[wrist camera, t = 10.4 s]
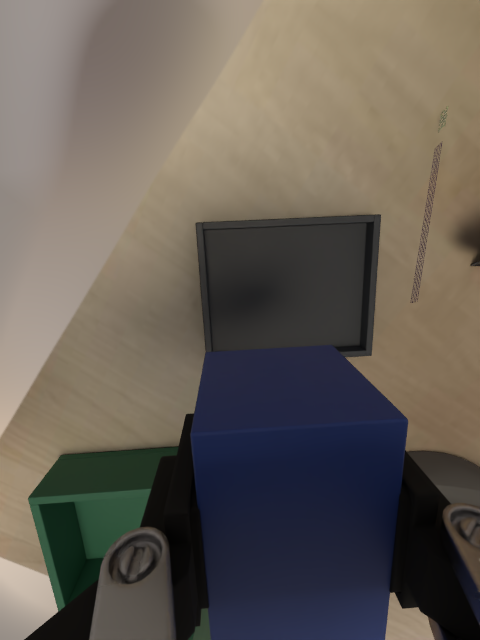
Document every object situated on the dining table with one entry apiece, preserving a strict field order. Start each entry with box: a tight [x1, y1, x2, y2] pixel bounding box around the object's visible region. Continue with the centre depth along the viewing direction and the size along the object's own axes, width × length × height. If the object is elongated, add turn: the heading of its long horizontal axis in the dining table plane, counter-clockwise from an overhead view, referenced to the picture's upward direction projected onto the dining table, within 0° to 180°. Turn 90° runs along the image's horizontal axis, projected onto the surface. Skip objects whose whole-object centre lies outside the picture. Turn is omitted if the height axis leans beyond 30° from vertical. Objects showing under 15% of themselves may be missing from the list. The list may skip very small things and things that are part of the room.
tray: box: [196, 215, 381, 357], centre depth 29 cm, size 16×13×2 cm
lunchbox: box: [28, 447, 178, 612], centre depth 32 cm, size 18×15×6 cm
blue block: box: [190, 345, 408, 640], centre depth 9 cm, size 4×7×5 cm
